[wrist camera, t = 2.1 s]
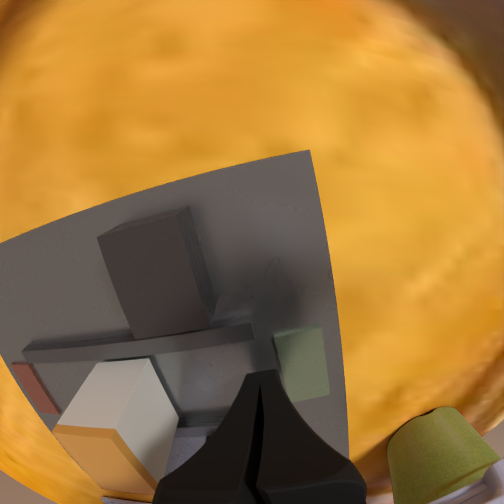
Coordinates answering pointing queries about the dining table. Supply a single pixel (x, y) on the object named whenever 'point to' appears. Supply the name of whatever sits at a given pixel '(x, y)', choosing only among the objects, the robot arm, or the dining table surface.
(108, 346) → the panel
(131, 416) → the white orange block
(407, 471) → the plant pot
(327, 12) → the dining table surface
